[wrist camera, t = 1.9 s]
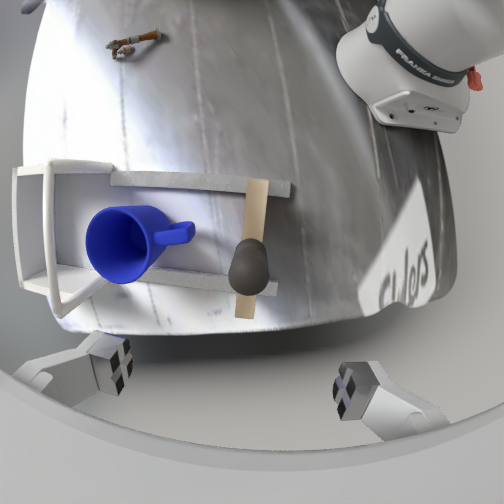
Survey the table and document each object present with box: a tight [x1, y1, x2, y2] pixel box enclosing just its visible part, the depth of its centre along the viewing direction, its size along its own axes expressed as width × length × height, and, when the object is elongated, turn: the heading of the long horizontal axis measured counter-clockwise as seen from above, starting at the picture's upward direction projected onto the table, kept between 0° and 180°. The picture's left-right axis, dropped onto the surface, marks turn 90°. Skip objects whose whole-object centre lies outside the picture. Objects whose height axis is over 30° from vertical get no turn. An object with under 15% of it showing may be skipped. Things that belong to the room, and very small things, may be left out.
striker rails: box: [110, 171, 291, 297], centre depth 35 cm, size 24×15×1 cm, turn 84°
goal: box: [12, 158, 113, 319], centre depth 28 cm, size 13×18×14 cm
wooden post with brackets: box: [106, 27, 161, 59], centre depth 27 cm, size 2×8×4 cm, turn 108°
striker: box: [228, 178, 269, 319], centre depth 27 cm, size 3×14×14 cm, turn 175°
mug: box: [86, 206, 196, 284], centre depth 30 cm, size 8×12×10 cm
